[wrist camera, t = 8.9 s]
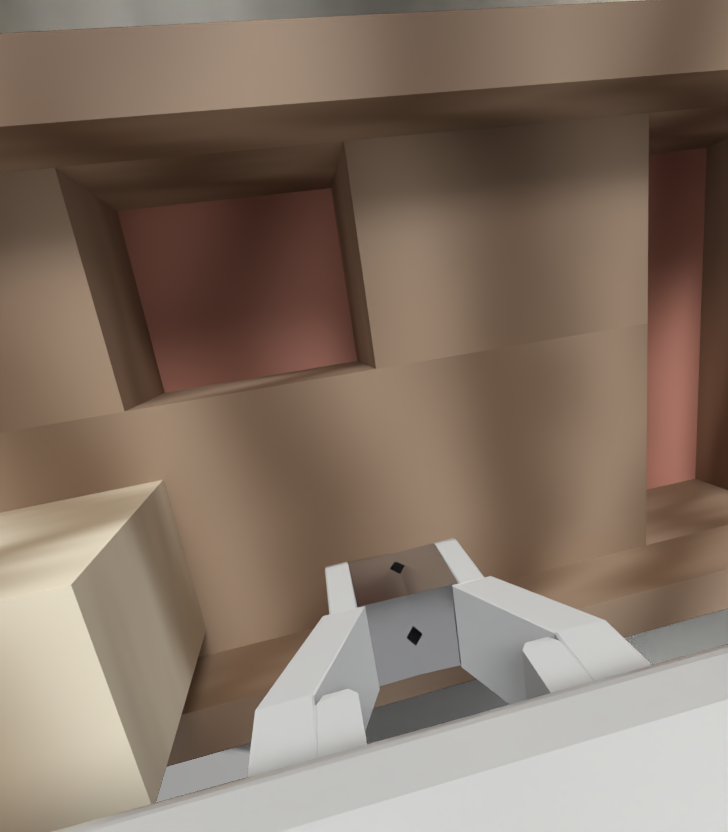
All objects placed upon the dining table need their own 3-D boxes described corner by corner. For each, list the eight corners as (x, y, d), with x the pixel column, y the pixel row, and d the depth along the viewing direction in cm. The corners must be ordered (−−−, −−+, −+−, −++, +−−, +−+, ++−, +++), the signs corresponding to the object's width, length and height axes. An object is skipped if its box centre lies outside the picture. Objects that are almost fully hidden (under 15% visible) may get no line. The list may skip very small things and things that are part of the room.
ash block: (162, 479, 12) (71, 584, 7) (206, 629, 13) (153, 810, 8) (-31, 519, 11) (-286, 666, 6) (32, 672, 12) (-141, 900, 7)
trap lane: (762, 104, 17) (1085, -53, 10) (739, 491, 20) (960, 570, 14) (-137, 187, 12) (-658, 12, 6) (44, 658, 16) (-135, 892, 9)
